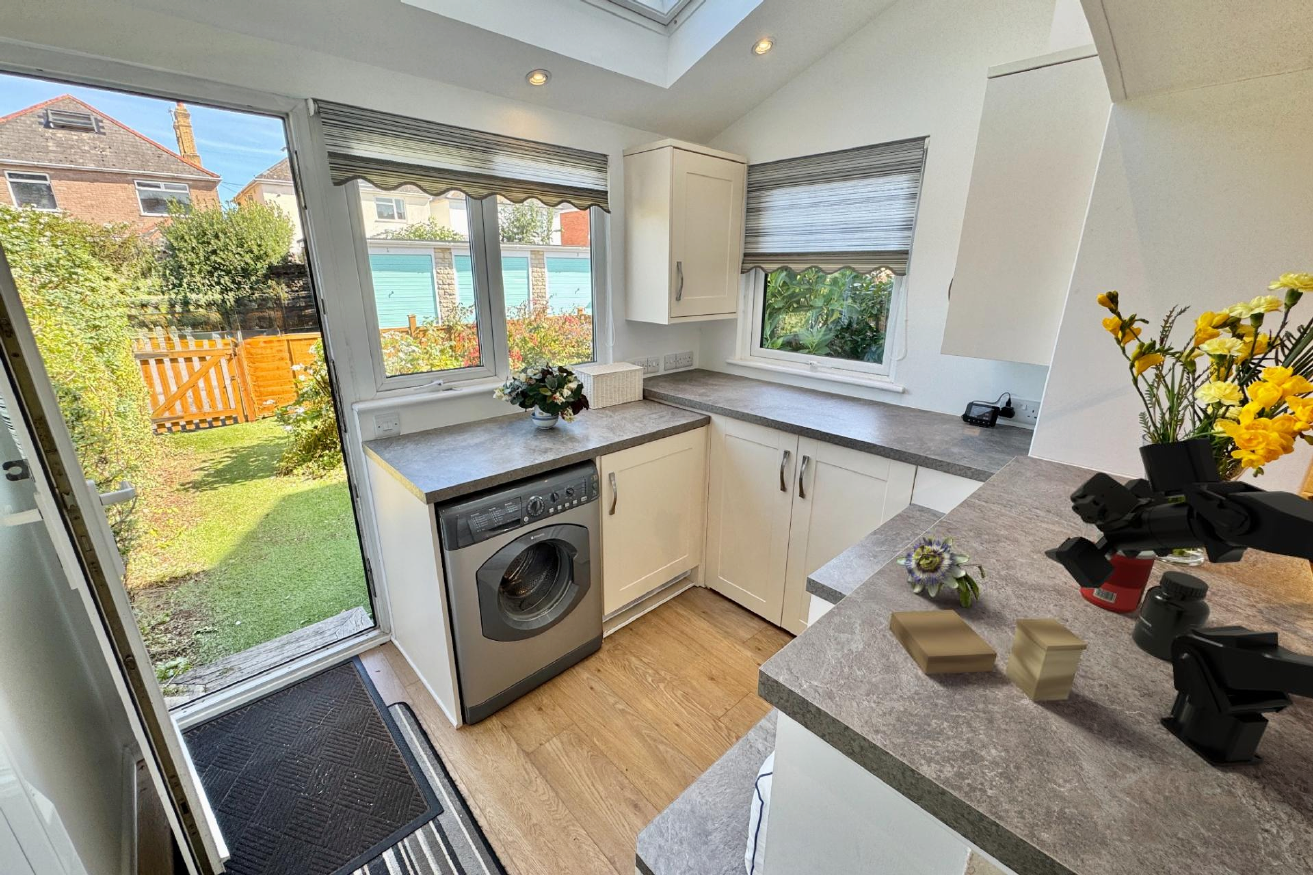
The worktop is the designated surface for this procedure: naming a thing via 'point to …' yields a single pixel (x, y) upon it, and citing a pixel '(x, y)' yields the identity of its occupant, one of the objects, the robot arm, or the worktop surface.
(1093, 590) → the canned food
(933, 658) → the walnut block
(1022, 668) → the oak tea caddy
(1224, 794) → the worktop surface
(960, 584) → the passion flower
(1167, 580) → the supplement bottle
